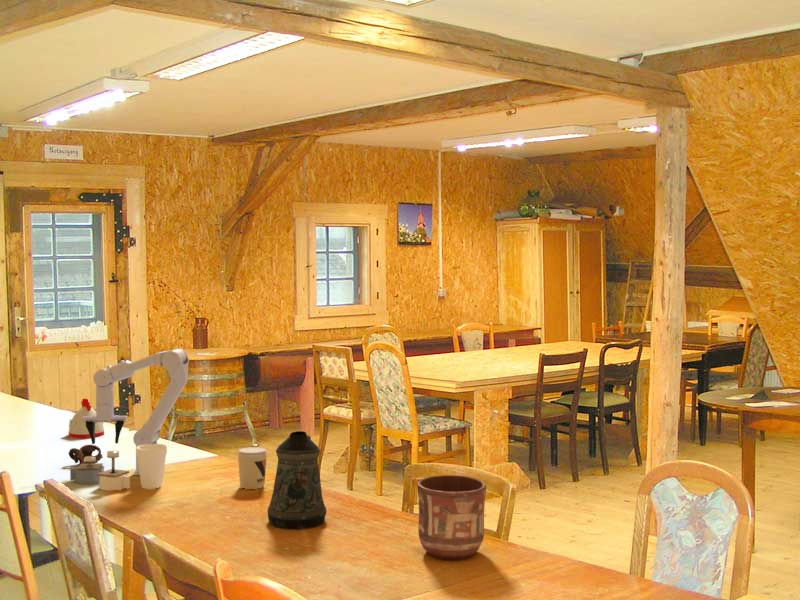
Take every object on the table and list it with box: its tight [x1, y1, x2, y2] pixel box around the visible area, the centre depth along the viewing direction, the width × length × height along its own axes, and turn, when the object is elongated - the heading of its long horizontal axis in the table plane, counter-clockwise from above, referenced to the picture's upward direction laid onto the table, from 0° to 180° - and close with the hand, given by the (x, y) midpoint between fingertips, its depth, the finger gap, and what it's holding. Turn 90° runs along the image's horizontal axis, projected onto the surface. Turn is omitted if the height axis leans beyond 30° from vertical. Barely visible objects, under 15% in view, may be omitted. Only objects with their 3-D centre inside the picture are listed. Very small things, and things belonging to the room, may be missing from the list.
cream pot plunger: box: [106, 450, 120, 473], centre depth 304 cm, size 4×4×7 cm
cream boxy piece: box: [97, 468, 131, 491], centre depth 304 cm, size 10×8×5 cm
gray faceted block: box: [69, 462, 105, 485], centre depth 313 cm, size 10×8×5 cm
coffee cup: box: [237, 446, 268, 490], centre depth 307 cm, size 9×9×12 cm
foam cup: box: [135, 443, 168, 490], centre depth 306 cm, size 10×9×13 cm
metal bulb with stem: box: [84, 455, 96, 467], centre depth 313 cm, size 4×4×7 cm
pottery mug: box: [68, 444, 104, 465], centre depth 336 cm, size 12×10×8 cm
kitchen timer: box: [68, 398, 105, 439], centre depth 391 cm, size 14×14×15 cm
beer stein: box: [267, 430, 327, 531], centre depth 269 cm, size 16×19×25 cm
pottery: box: [416, 474, 487, 561], centre depth 241 cm, size 18×18×18 cm
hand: (105, 443), depth 326 cm, fingers open, 7 cm apart
